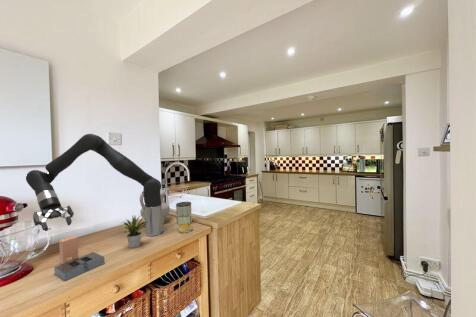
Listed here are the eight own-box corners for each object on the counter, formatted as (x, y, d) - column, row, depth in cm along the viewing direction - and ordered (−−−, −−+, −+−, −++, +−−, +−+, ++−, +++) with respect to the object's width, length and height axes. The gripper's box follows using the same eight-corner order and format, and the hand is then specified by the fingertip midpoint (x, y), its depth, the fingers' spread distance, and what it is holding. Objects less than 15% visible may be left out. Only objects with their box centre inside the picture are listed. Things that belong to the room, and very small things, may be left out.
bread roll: (185, 227, 130) (184, 221, 130) (194, 230, 125) (194, 223, 125) (175, 231, 123) (174, 225, 123) (184, 234, 119) (184, 227, 119)
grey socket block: (93, 258, 93) (93, 251, 93) (104, 263, 88) (104, 256, 88) (54, 274, 81) (54, 266, 81) (64, 281, 76) (64, 273, 76)
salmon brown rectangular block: (75, 258, 93) (74, 235, 93) (78, 260, 91) (77, 237, 91) (60, 264, 88) (59, 240, 88) (63, 266, 86) (62, 241, 86)
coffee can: (174, 223, 139) (173, 203, 139) (188, 219, 146) (187, 200, 146) (180, 226, 131) (179, 205, 131) (194, 223, 138) (193, 203, 138)
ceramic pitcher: (156, 230, 129) (158, 192, 128) (130, 227, 132) (132, 190, 132) (174, 220, 150) (175, 187, 149) (151, 217, 154) (152, 185, 153)
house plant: (133, 255, 95) (132, 221, 94) (111, 251, 99) (110, 219, 99) (154, 242, 108) (153, 212, 108) (134, 240, 112) (132, 211, 112)
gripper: (30, 199, 93) (40, 227, 88) (68, 193, 106) (78, 218, 100) (27, 209, 96) (36, 237, 90) (64, 202, 108) (74, 226, 103)
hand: (58, 227), depth 95 cm, fingers open, 8 cm apart
